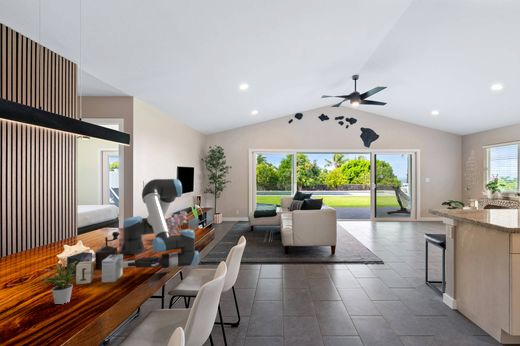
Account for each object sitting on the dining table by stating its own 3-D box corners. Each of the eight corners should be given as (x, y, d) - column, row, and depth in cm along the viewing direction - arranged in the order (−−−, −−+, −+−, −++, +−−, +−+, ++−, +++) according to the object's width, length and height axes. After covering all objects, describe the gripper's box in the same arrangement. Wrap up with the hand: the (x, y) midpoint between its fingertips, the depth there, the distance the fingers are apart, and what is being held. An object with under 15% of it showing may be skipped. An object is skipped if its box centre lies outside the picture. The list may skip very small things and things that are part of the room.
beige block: (79, 280, 143) (79, 262, 143) (93, 278, 145) (93, 260, 145) (76, 284, 137) (76, 265, 137) (90, 283, 139) (90, 264, 139)
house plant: (59, 293, 126) (59, 256, 126) (90, 293, 126) (90, 256, 126) (32, 308, 112) (33, 266, 112) (67, 309, 112) (67, 267, 112)
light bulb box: (109, 275, 150) (109, 254, 150) (123, 274, 151) (123, 254, 151) (101, 282, 139) (101, 260, 139) (115, 282, 140) (116, 260, 140)
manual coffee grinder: (116, 267, 162) (117, 235, 162) (94, 269, 158) (94, 237, 158) (119, 259, 177) (119, 230, 177) (99, 261, 172) (99, 232, 173)
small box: (76, 278, 145) (76, 257, 145) (65, 277, 146) (66, 257, 146) (92, 271, 155) (92, 252, 155) (82, 270, 156) (82, 251, 156)
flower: (173, 233, 249) (163, 209, 240) (196, 232, 242) (186, 207, 233) (161, 248, 232) (149, 222, 222) (185, 247, 225) (174, 221, 215)
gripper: (169, 271, 148) (119, 276, 140) (169, 263, 160) (122, 268, 152) (169, 256, 148) (119, 261, 140) (169, 250, 160) (122, 254, 152)
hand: (121, 264), depth 146 cm, fingers closed
